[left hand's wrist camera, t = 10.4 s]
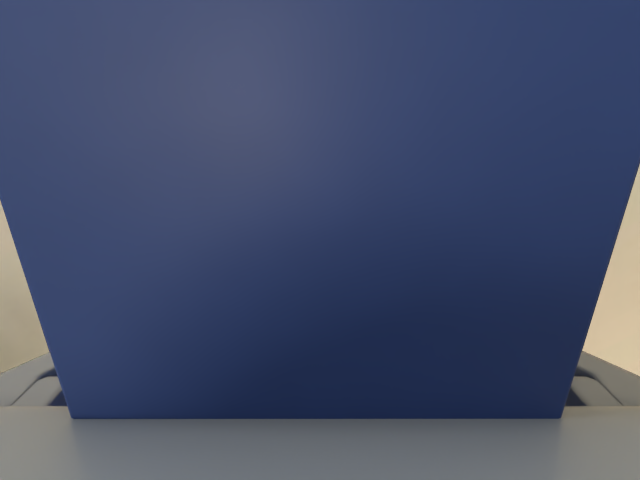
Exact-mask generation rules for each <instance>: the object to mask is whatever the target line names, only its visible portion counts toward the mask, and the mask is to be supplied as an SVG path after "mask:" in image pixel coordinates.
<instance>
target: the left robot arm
mask: <svg viewBox="0 0 640 480" xmlns="http://www.w3.org/2000/svg"><path fill="white" fill-rule="evenodd" d="M0 480H640V377H639V376H638V375H636V374H633V373H631V372H629V371H627V370H624V369H622V368H620V367H618V366H615V365H613V364H611V363H609V362H606V361H604V360H602V359H600V358H597V357H595V356H593V355H591V354H588V353H586V352H584V351H582V352H581V355H580V358H579V362H578V365H577V368H576V371H575V375H574V378H573V381H572V384H571V388H570V391H569V394H568V397H567V401H566V404H565V407H564V410H563V413H562V417H561V418H559V419H73V418H71V416H70V413H69V410H68V407H67V404H66V401H65V397H64V394H63V391H62V388H61V385H60V382H59V379H58V376H57V373H56V370H55V367H54V364H53V360H52V357H51V354H50V352H49V353H47V354H44V355H42V356H40V357H38V358H35V359H33V360H31V361H28V362H26V363H24V364H22V365H19V366H17V367H15V368H12V369H10V370H8V371H6V372H3V373H1V374H0Z"/></svg>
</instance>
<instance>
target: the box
mask: <svg viewBox="0 0 640 480" xmlns="http://www.w3.org/2000/svg"><path fill="white" fill-rule="evenodd" d="M639 164H640V0H0V200H1V203H2V206H3V209H4V212H5V216H6V219H7V222H8V225H9V228H10V231H11V234H12V237H13V240H14V243H15V246H16V249H17V253H18V256H19V259H20V262H21V265H22V268H23V271H24V274H25V277H26V280H27V283H28V286H29V290H30V293H31V296H32V299H33V302H34V305H35V308H36V311H37V314H38V317H39V320H40V323H41V327H42V330H43V333H44V336H45V339H46V342H47V345H48V348H49V351H50V354H51V357H52V360H53V364H54V367H55V370H56V373H57V376H58V379H59V382H60V385H61V388H62V391H63V394H64V397H65V401H66V404H67V407H68V410H69V413H70V416H71V418H73V419H559V418H561V417H562V413H563V410H564V407H565V404H566V401H567V397H568V394H569V391H570V388H571V384H572V381H573V378H574V375H575V371H576V368H577V365H578V362H579V358H580V355H581V352H582V349H583V345H584V342H585V339H586V336H587V333H588V329H589V326H590V323H591V320H592V316H593V313H594V310H595V307H596V303H597V300H598V297H599V294H600V290H601V287H602V284H603V281H604V277H605V274H606V271H607V268H608V265H609V261H610V258H611V255H612V252H613V248H614V245H615V242H616V239H617V235H618V232H619V229H620V226H621V222H622V219H623V216H624V213H625V209H626V206H627V203H628V200H629V197H630V193H631V190H632V187H633V184H634V180H635V177H636V174H637V171H638V167H639Z"/></svg>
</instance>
